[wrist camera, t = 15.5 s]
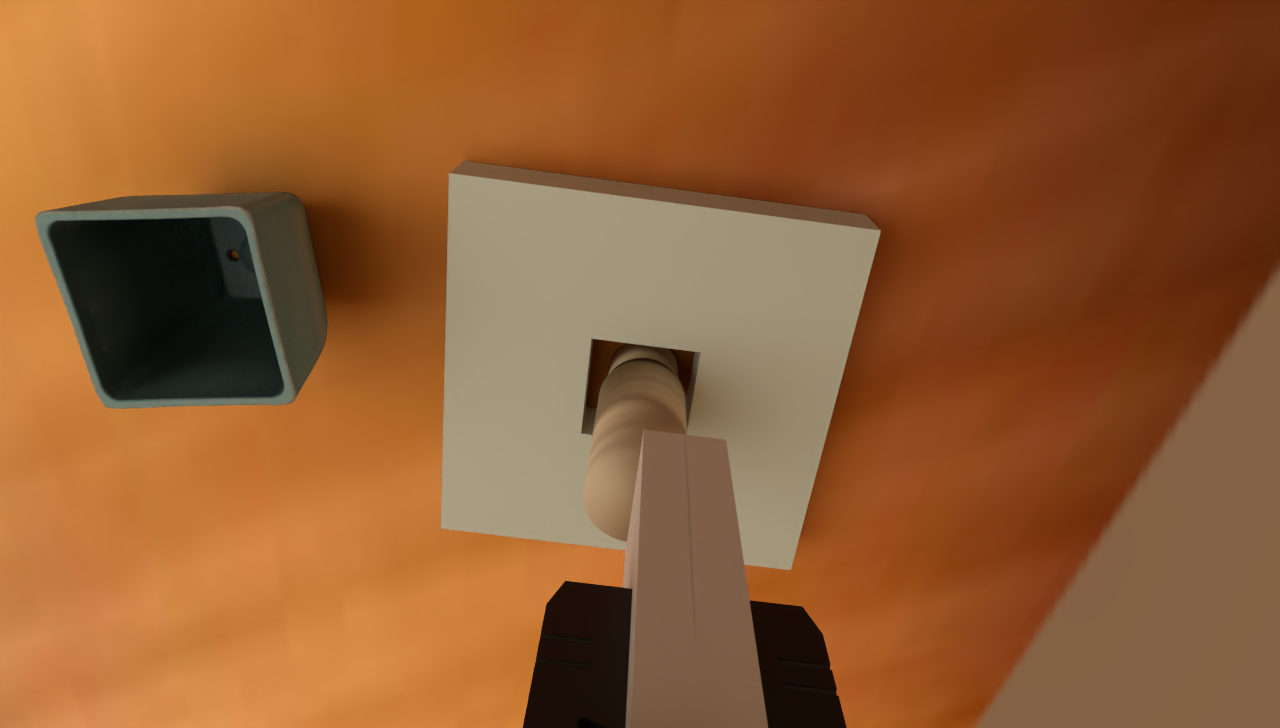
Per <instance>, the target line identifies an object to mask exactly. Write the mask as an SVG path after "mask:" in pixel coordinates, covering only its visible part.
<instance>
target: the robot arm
mask: <svg viewBox="0 0 1280 728" xmlns="http://www.w3.org/2000/svg"><path fill="white" fill-rule="evenodd" d="M836 690H837V688H836V685H835V681H834V677H833V673H832V670H830V661H829V657H828V653H827V649H826V645H825V641H824V637H823V634H822V633H821V631H820V630H819V629H818V627H817V626H816V624H815V623H814V622H813V620H812V619H811V618H810V616H809V615H808V614H807V612H806V611H805V610H804V608H803V607H801V606H792V605H784V604H775V603H767V602H758V601H750V600H749V593H748V586H747V580H746V573H745V566H744V559H743V552H742V545H741V539H740V532H739V525H738V518H737V511H736V504H735V498H734V491H733V484H732V477H731V470H730V463H729V456H728V450H727V443H726V440H724V439H716V438H708V437H700V436H692V435H684V434H676V433H668V432H660V431H652V430H643V437H642V444H641V451H640V457H639V464H638V471H637V477H636V484H635V491H634V497H633V504H632V511H631V518H630V524H629V531H628V538H627V544H626V552H625V567H624V582H623V588H621V587H612V586H604V585H595V584H587V583H578V582H570V581H565V582H564V583H563V585H562V586H561V587H560V588H559V590H558V591H557V592H556V593H555V594H554V596H553V597H552V598H551V599H550V601H549V602H548V603H547V605H546V610H545V615H544V620H543V625H542V631H541V637H540V641H539V646H538V652H537V657H536V663H535V667H534V672H533V678H532V683H531V688H530V693H529V698H528V704H527V709H526V714H525V719H524V725H523V728H846V724H845V720H844V716H843V712H842V708H841V704H840V700H839V696H837V695H836Z"/></svg>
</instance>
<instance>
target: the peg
mask: <svg viewBox="0 0 1280 728" xmlns="http://www.w3.org/2000/svg"><path fill="white" fill-rule="evenodd" d="M643 430H652V431H660V432H668V433H676V434H684V435H687V424H686V405H685V393H684V389H683V386H682V384H681V382H680V381H679V378H678V365H677V361H676V358H675V357H674V355H673V353H672V352H671V351H670V350H669V349H668V348H661V347H654V346H646V345H638V344H630V343H625V344H624V345H622V346H621V347H620V348H618V350H617V351H616V352H615V353H614V355H613V356H612V358H611V361H610V365H609V371H608V376H607V377H606V379H605V380H604V382H603V384H602V386H601V388H600V392H599V398H598V405H597V411H596V417H595V423H594V429H593V435H592V442H591V448H590V454H589V460H588V466H587V473H586V479H585V485H584V491H583V503H584V508H585V511H586V513H587V515H588V517H589V519H590V520H591V522H592V523H593V524H594V525H595V526H596V527H597V528H598V529H599V530H601V531H602V532H603V533H605V534H607V535H608V536H610V537H613V538H615V539H618V540H621V541H626V542H627V538H628V531H629V524H630V518H631V511H632V504H633V497H634V491H635V484H636V477H637V471H638V464H639V457H640V451H641V444H642V437H643Z"/></svg>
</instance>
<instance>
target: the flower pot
mask: <svg viewBox="0 0 1280 728" xmlns="http://www.w3.org/2000/svg"><path fill="white" fill-rule="evenodd" d="M35 220H36V227H37V231H38V235H39V238H40V241H41V244H42V246H43V249H44V252H45V254H46V257H47V260H48V262H49V265H50V267H51V269H52V272H53V274H54V277H55V279H56V282H57V286H58V287H59V290H60V293H61V295H62V298H63V301H64V304H65V306H66V309H67V312H68V314H69V317H70V319H71V322H72V325H73V327H74V331H75V335H76V337H77V339H78V343H79V345H80V349H81V353H82V355H83V357H84V359H85V363H86V366H87V369H88V371H89V375H90V378H91V380H92V383H93V386H94V388H95V392H96V393H97V395H98V397H99V398H100V400H101V401H102V403H103V404H104V406H105V407H108V408H120V409H127V408H154V407H179V406H215V405H216V406H219V405H284V404H289V403H291V402H293V401H294V400H295V398H296V397H297V395H298V393H299V391H300V390H301V388H302V386H303V384H304V383H305V381H306V379H307V378H308V376H309V374H310V372H311V371H312V369H313V367H314V365H315V363H316V362H317V360H318V358H319V356H320V354H321V352H322V350H323V347H324V344H325V340H326V335H327V312H326V306H325V300H324V295H323V291H322V287H321V283H320V278H319V273H318V269H317V264H316V259H315V255H314V250H313V245H312V241H311V236H310V231H309V226H308V221H307V216H306V212H305V208H304V205H303V203H302V201H301V200H300V199H299V198H298V197H297V196H295V195H293V194H291V193H287V192H262V193H231V194H197V195H152V196H129V197H119V198H114V199H108V200H103V201H97V202H91V203H85V204H80V205H74V206H69V207H64V208H59V209H53V210H48V211H43V212H40V213H38V214H37V215H36V216H35ZM231 250H235V251H236V252H237V253H238V255H239V259H237V260H234V259H232V258H231V257H230V255H229V253H230V251H231Z"/></svg>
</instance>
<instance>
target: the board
mask: <svg viewBox="0 0 1280 728" xmlns="http://www.w3.org/2000/svg"><path fill="white" fill-rule="evenodd" d="M880 233H881V230H880V229H879V228H878V227H877V226H876V225H875V224H874V223H873V222H872V221H871V220H870V219H869V218H868V217H867V216H866V215H865V214H858V213H850V212H843V211H835V210H828V209H820V208H813V207H805V206H798V205H790V204H783V203H775V202H768V201H760V200H753V199H746V198H738V197H731V196H723V195H716V194H708V193H701V192H693V191H686V190H678V189H671V188H663V187H656V186H648V185H641V184H633V183H626V182H618V181H611V180H603V179H596V178H589V177H581V176H574V175H566V174H559V173H551V172H544V171H536V170H529V169H521V168H514V167H506V166H499V165H491V164H484V163H476V162H469V161H464V162H462V163H461V164H460V165H459V166H457V167H456V168H455V169H454V170H452V171H451V172H450V173H449V198H448V242H447V287H446V332H445V376H444V421H443V466H442V510H441V528H442V529H451V530H459V531H467V532H476V533H484V534H493V535H501V536H509V537H518V538H526V539H535V540H543V541H551V542H560V543H568V544H576V545H585V546H593V547H602V548H610V549H618V550H626V544H627V542H626V541H621V540H618V539H615V538H613V537H610V536H608V535H607V534H605V533H603V532H602V531H601V530H599V529H598V528H597V527H596V526H595V525H594V524H593V523H592V522H591V520H590V519H589V517H588V515H587V513H586V511H585V508H584V503H583V491H584V485H585V479H586V473H587V466H588V460H589V454H590V448H591V442H592V435H593V429H594V423H595V417H596V411H597V408H592V407H586V403H587V394H588V385H589V376H590V367H591V358H592V349H593V340H594V339H599V340H606V341H614V342H622V343H630V344H638V345H646V346H654V347H661V348H669V349H677V350H685V351H693V352H694V358H693V363H692V369H691V375H690V381H689V387H688V392H687V398H686V404H685V405H686V424H687V435H692V436H700V437H708V438H716V439H724V440H726V443H727V450H728V456H729V463H730V470H731V477H732V484H733V491H734V498H735V504H736V511H737V518H738V525H739V532H740V539H741V545H742V552H743V559H744V565H753V566H761V567H769V568H778V569H786V570H791V567H792V563H793V560H794V556H795V552H796V548H797V545H798V541H799V537H800V533H801V530H802V526H803V522H804V518H805V515H806V511H807V507H808V503H809V499H810V496H811V492H812V488H813V484H814V481H815V477H816V473H817V469H818V466H819V462H820V458H821V454H822V451H823V447H824V443H825V439H826V436H827V432H828V428H829V424H830V421H831V417H832V413H833V409H834V405H835V402H836V398H837V394H838V390H839V387H840V383H841V379H842V375H843V372H844V368H845V364H846V360H847V357H848V353H849V349H850V345H851V342H852V338H853V334H854V330H855V327H856V323H857V319H858V315H859V312H860V308H861V304H862V300H863V296H864V293H865V289H866V285H867V281H868V278H869V274H870V270H871V266H872V263H873V259H874V255H875V251H876V248H877V244H878V240H879V236H880Z"/></svg>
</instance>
